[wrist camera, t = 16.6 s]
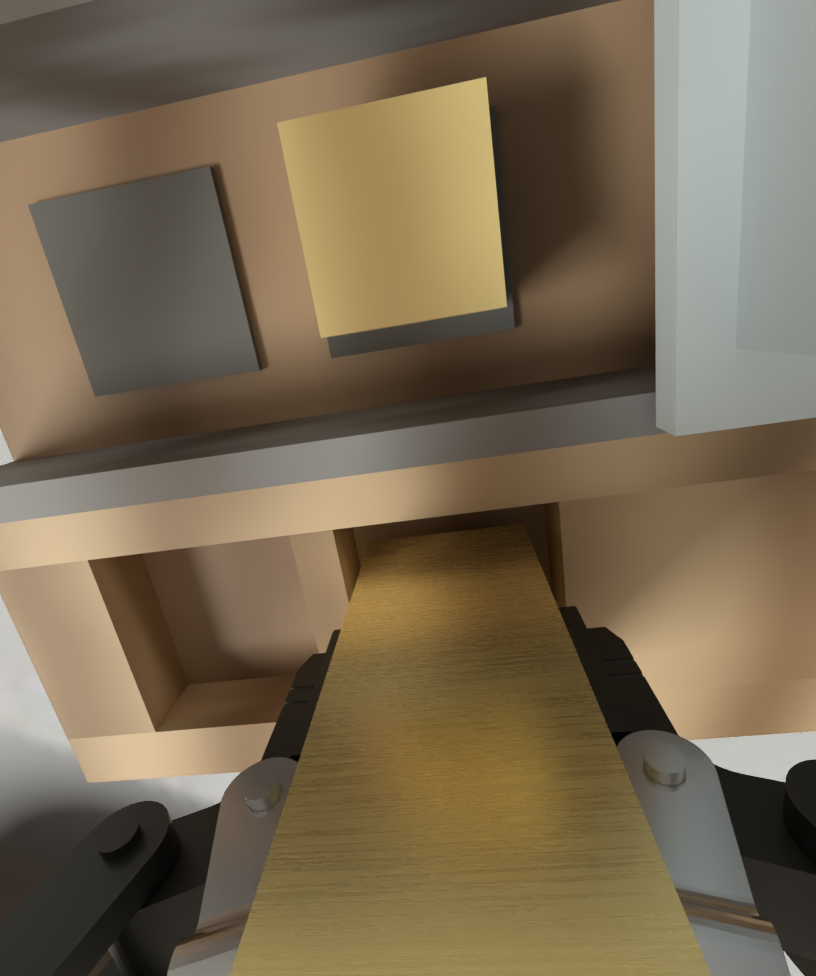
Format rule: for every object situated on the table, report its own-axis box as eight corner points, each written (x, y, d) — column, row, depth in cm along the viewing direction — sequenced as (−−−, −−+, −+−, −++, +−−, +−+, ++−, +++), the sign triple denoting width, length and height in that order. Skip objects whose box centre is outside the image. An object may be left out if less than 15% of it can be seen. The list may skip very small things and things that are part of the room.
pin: (535, 655, 14) (744, 1386, 4) (394, 668, 14) (302, 1360, 5) (523, 523, 13) (780, 1139, 3) (369, 542, 13) (179, 1134, 4)
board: (1068, -99, 11) (1671, -504, 5) (929, 620, 16) (1164, 762, 11) (-46, 156, 14) (-350, 51, 8) (158, 691, 19) (52, 829, 14)
